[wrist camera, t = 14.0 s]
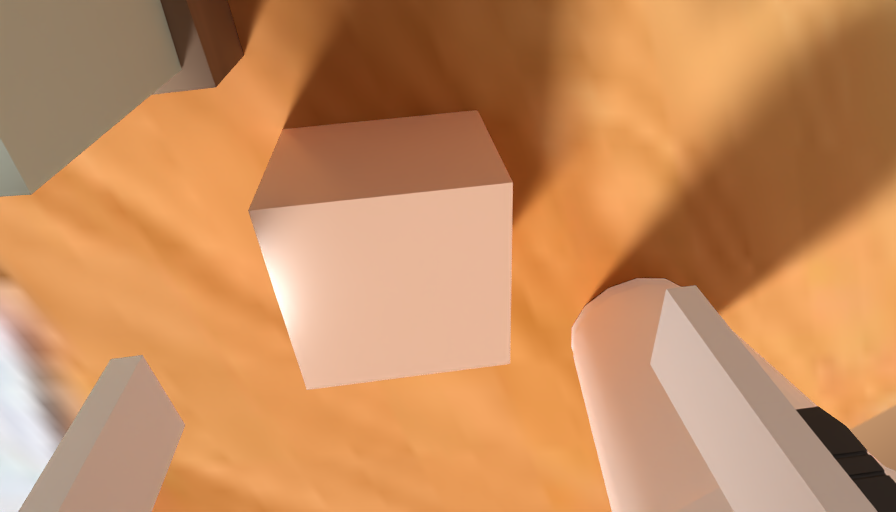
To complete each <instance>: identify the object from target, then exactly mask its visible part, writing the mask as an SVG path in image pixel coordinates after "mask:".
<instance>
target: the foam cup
mask: <svg viewBox="0 0 896 512" xmlns="http://www.w3.org/2000/svg"><path fill="white" fill-rule="evenodd" d="M678 287H681V286H679V285H677V284H675V283H673V282H671V281H669V280H667V279H665V278H636V279H633V280H630V281H627V282H624V283H622V284H619V285H616V286H613V287H610V288H608V289H606V290H605V291H604V292H602V293H601V294H600V295H599V296H597V297H596V298H595V299H593V300H592V301H591V302H589V303H588V304H587V305H586V306H584V308H583V310H582V311H581V313H580V315H579V316H578V318H577V320H576V321H575V323H574V325H573V326H572V346H571V348H572V350H573V352H574V361H575V365H576V369H577V373H578V377H579V381H580V385H581V389H582V393H583V397H584V401H585V405H586V409H587V413H588V417H589V421H590V425H591V429H592V433H593V437H594V441H595V445H596V449H597V453H598V457H599V461H600V465H601V469H602V473H603V477H604V481H605V485H606V489H607V493H608V497H609V501H610V505H611V509H612V512H734V511H733V509H732V508H731V506H730V504H729V502H728V501H727V499H726V497H725V495H724V493H723V492H722V490H721V488H720V486H719V485H718V483H717V481H716V479H715V478H714V476H713V474H712V472H711V471H710V469H709V467H708V465H707V464H706V462H705V460H704V458H703V456H702V455H701V453H700V451H699V449H698V448H697V446H696V444H695V442H694V441H693V439H692V437H691V435H690V434H689V432H688V430H687V428H686V427H685V425H684V423H683V421H682V419H681V418H680V416H679V414H678V412H677V411H676V409H675V407H674V405H673V404H672V402H671V400H670V398H669V397H668V395H667V393H666V391H665V390H664V388H663V386H662V384H661V382H660V381H659V379H658V377H657V375H656V374H655V372H654V370H653V368H652V367H651V365H650V362H651V357H652V353H653V348H654V343H655V339H656V334H657V329H658V325H659V320H660V315H661V311H662V306H663V302H664V297H665V292H666V289H670V288H678ZM734 334H735V335H736V336H737V337H738V339H739V340H740V341H741V342H742V343H743V345H744V346H745V347H746V348H747V350H748V351H749V352H750V353H751V355H752V356H753V357H754V358H755V360H756V361H757V362H758V363H759V365H760V366H761V367H762V368H763V370H764V371H765V372H766V373H767V375H768V376H769V377H770V378H771V380H772V381H773V382H774V383H775V385H776V386H777V387H778V388H779V390H780V391H781V392H782V393H783V395H784V396H785V397H786V398H787V400H788V401H789V402H790V403H791V404H792V406H793V407H794V408H795V409H803V408H810V407H818V406H816V405H815V404H814V403H813V402H812V401H811V400H810V399H809V398H807V397H806V396H805V395H804V394H803V393H802V392H801V391H800V390H799V389H797V388H796V387H795V386H794V385H793V384H792V383H791V382H790V381H788V380H787V379H786V378H785V377H784V376H783V375H782V374H781V373H779V372H778V371H777V370H776V369H775V368H774V367H773V366H772V365H770V364H769V363H768V362H767V361H766V360H765V359H764V358H763V357H761V356H760V355H759V354H758V353H757V352H756V351H755V350H754V349H753V348H751V347H750V346H749V345H748V344H747V343H746V342H745V341H744V340H742V339H741V338H740V337H739V336H738V335H737V334H736V333H735V332H734ZM867 453H868V454H869V455H871V454H870V453H869V452H868V451H867ZM872 456H873V455H872ZM873 457H874V456H873ZM874 459H875V460H876V461H877V462H878V463H879V464H880V465H881V467H882V468H883V469H884V472H885V474H886V475H889V476H890V477H891V478H892V479H893V480H894V482H895V483H896V471H894V470H892V469H889V468H887V467H885V466H884V465H883V464H881V463H880V462H879V461H878V460H877V459H876V458H875V457H874Z"/></svg>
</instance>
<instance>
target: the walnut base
mask: <svg viewBox="0 0 896 512" xmlns="http://www.w3.org/2000/svg"><path fill="white" fill-rule="evenodd" d="M160 1H161V4H162V8H163V11H164V14H165V17H166V21H167V24H168V27H169V30H170V33H171V37H172V40H173V43H174V46H175V50H176V53H177V56H178V59H179V62H180V66H181V69H182V70H180V71H179V72H178V73H177V74H176V75H174V76H173V77H172V78H171V79H170V80H168V81H167V82H166V83H165V84H164V85H162V86H161V87H160V88H159V89H158V90H156V91H155V92H154V93H153V94H161V93H170V92H179V91H188V90H196V89H205V88H214V87H217V85H218V84H219V83H220V82H221V81H222V80H223V79H224V77H225V76H226V75H227V74H228V73H229V72H230V71H231V69H232V68H233V67H234V66H235V65H236V64H237V63H238V61H239V60H240V59H241V58H242V57H243V56H244V54H243V51H242V47H241V44H240V41H239V37H238V34H237V31H236V27H235V24H234V20H233V17H232V14H231V10H230V7H229V4H228V0H160Z"/></svg>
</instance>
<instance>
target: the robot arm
mask: <svg viewBox="0 0 896 512" xmlns="http://www.w3.org/2000/svg"><path fill="white" fill-rule="evenodd" d="M650 365H651V367H652V368H653V370H654V372H655V374H656V375H657V377H658V379H659V381H660V382H661V384H662V386H663V388H664V390H665V391H666V393H667V395H668V397H669V398H670V400H671V402H672V404H673V405H674V407H675V409H676V411H677V412H678V414H679V416H680V418H681V419H682V421H683V423H684V425H685V427H686V428H687V430H688V432H689V434H690V435H691V437H692V439H693V441H694V442H695V444H696V446H697V448H698V449H699V451H700V453H701V455H702V456H703V458H704V460H705V462H706V464H707V465H708V467H709V469H710V471H711V472H712V474H713V476H714V478H715V479H716V481H717V483H718V485H719V486H720V488H721V490H722V492H723V493H724V495H725V497H726V499H727V501H728V502H729V504H730V506H731V508H732V509H733V511H734V512H896V483H895V482H894V480H893V479H892V478H891V477H890V476H889V475H886V474H885V472H884V469H883V468H882V467H881V465H880V464H879V463H878V462H877V461H876V460H875V459H874V457H873V456H872V455H869V454H868V453H867V450H866V448H865V447H864V446H863V445H862V444H861V443H860V441H859V440H858V439H857V438H856V437H855V436H854V435H853V434H852V432H851V431H850V430H849V429H848V428H847V427H846V426H845V425H844V424H842V423H841V422H840V421H838V420H837V419H835V418H834V417H832V416H831V415H830V414H828V413H827V412H825V411H824V410H823V409H821V408H820V407H810V408H803V409H795V408H794V407H793V406H792V404H791V403H790V402H789V401H788V400H787V398H786V397H785V396H784V395H783V393H782V392H781V391H780V390H779V388H778V387H777V386H776V385H775V383H774V382H773V381H772V380H771V378H770V377H769V376H768V375H767V373H766V372H765V371H764V370H763V368H762V367H761V366H760V365H759V363H758V362H757V361H756V360H755V358H754V357H753V356H752V355H751V353H750V352H749V351H748V350H747V348H746V347H745V346H744V345H743V343H742V342H741V341H740V340H739V339H738V337H737V336H736V335H735V334H734V332H733V331H732V330H731V329H730V327H729V326H728V325H727V324H726V322H725V321H724V320H723V319H722V317H721V316H720V315H719V314H718V312H717V311H716V310H715V309H714V307H713V306H712V305H711V304H710V302H709V301H708V300H707V299H706V297H705V296H704V295H703V294H702V292H701V291H700V290H699V289H698V287H697V286H696V285H693V286H686V287H678V288H670V289H666V292H665V297H664V302H663V306H662V311H661V315H660V320H659V325H658V329H657V334H656V339H655V343H654V348H653V353H652V357H651V362H650ZM184 427H185V424H184V422H183V421H182V419H181V417H180V416H179V414H178V413H177V411H176V409H175V408H174V406H173V404H172V403H171V401H170V399H169V398H168V396H167V395H166V393H165V391H164V390H163V388H162V386H161V385H160V383H159V381H158V380H157V378H156V376H155V375H154V373H153V372H152V370H151V368H150V367H149V365H148V363H147V362H146V360H145V358H144V357H143V355H140V356H132V357H124V358H116V359H111V360H110V361H109V363H108V365H107V366H106V368H105V370H104V371H103V373H102V375H101V376H100V378H99V380H98V381H97V383H96V385H95V386H94V388H93V389H92V391H91V393H90V394H89V396H88V398H87V399H86V401H85V403H84V404H83V406H82V408H81V409H80V411H79V413H78V414H77V416H76V418H75V419H74V421H73V422H72V424H71V426H70V427H69V429H68V431H67V432H66V434H65V436H64V437H63V439H62V441H61V442H60V444H59V446H58V447H57V449H56V451H55V452H54V454H53V455H52V457H51V459H50V460H49V462H48V464H47V465H46V467H45V469H44V470H43V472H42V474H41V475H40V477H39V479H38V480H37V482H36V484H35V485H34V487H33V488H32V490H31V492H30V493H29V495H28V497H27V498H26V500H25V502H24V503H23V505H22V507H21V508H20V510H19V512H152V509H153V507H154V504H155V502H156V499H157V496H158V494H159V491H160V489H161V486H162V484H163V481H164V478H165V476H166V473H167V471H168V468H169V465H170V463H171V460H172V458H173V455H174V453H175V450H176V447H177V445H178V442H179V440H180V437H181V435H182V432H183V429H184Z"/></svg>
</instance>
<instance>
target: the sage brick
mask: <svg viewBox="0 0 896 512" xmlns="http://www.w3.org/2000/svg"><path fill="white" fill-rule="evenodd" d="M180 70H182V69H181V66H180V62H179V59H178V56H177V53H176V50H175V46H174V43H173V40H172V37H171V33H170V30H169V27H168V24H167V21H166V17H165V14H164V11H163V8H162V4H161V1H160V0H0V197H1V196H16V195H31V194H32V193H34V192H35V191H36V190H37V189H38V188H40V187H41V186H42V185H43V184H44V183H46V182H47V181H48V180H49V179H51V178H52V177H53V176H54V175H55V174H57V173H58V172H59V171H60V170H61V169H63V168H64V167H65V166H66V165H67V164H69V163H70V162H71V161H72V160H73V159H75V158H76V157H77V156H78V155H79V154H81V153H82V152H83V151H84V150H85V149H87V148H88V147H89V146H90V145H91V144H93V143H94V142H95V141H96V140H97V139H99V138H100V137H101V136H102V135H103V134H105V133H106V132H107V131H108V130H109V129H111V128H112V127H113V126H114V125H115V124H117V123H118V122H119V121H120V120H121V119H123V118H124V117H125V116H126V115H127V114H129V113H130V112H131V111H132V110H134V109H135V108H136V107H137V106H138V105H140V104H141V103H142V102H143V101H144V100H146V99H147V98H148V97H149V96H150V95H152V94H153V93H154V92H155V91H156V90H158V89H159V88H160V87H161V86H162V85H164V84H165V83H166V82H167V81H168V80H170V79H171V78H172V77H173V76H174V75H176V74H177V73H178V72H179V71H180Z"/></svg>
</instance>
